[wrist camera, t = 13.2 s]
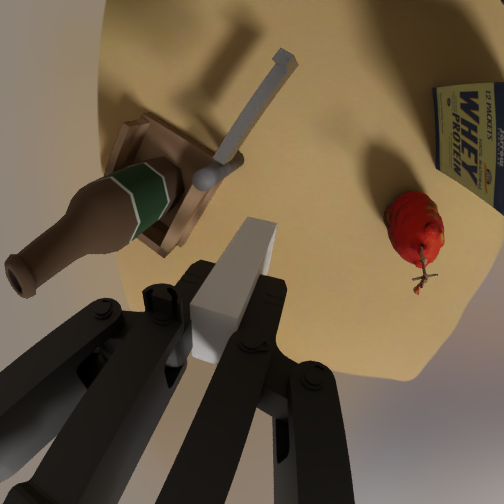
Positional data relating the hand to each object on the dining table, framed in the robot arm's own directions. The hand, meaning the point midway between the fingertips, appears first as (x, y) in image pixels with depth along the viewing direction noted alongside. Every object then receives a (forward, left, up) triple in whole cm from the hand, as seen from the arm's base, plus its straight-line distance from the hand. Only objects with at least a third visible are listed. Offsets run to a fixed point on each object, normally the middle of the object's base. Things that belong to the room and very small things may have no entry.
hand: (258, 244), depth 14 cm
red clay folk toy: (-4, +15, -21) cm, 26 cm away
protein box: (-20, +16, -21) cm, 33 cm away
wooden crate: (+11, -13, -20) cm, 26 cm away
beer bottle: (+12, -13, -19) cm, 26 cm away
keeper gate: (-4, -6, -14) cm, 16 cm away
